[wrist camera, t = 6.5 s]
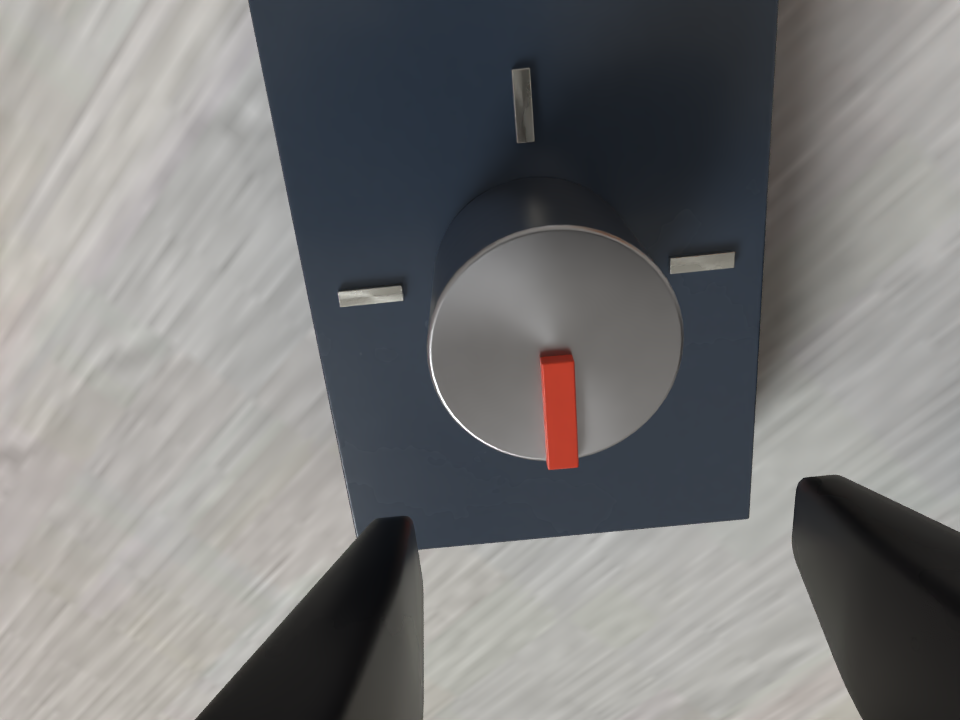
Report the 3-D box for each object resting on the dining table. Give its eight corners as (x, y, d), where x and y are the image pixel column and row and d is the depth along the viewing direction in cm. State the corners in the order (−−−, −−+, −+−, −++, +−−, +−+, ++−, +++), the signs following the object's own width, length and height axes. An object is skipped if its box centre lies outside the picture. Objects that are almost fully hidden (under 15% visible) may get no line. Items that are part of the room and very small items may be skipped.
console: (272, -49, 17) (232, -62, 14) (732, -99, 17) (790, -123, 14) (372, 490, 22) (358, 560, 20) (714, 457, 22) (751, 523, 19)
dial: (422, 186, 16) (410, 243, 12) (636, 166, 16) (693, 218, 12) (445, 378, 18) (440, 482, 14) (636, 360, 18) (686, 461, 14)
